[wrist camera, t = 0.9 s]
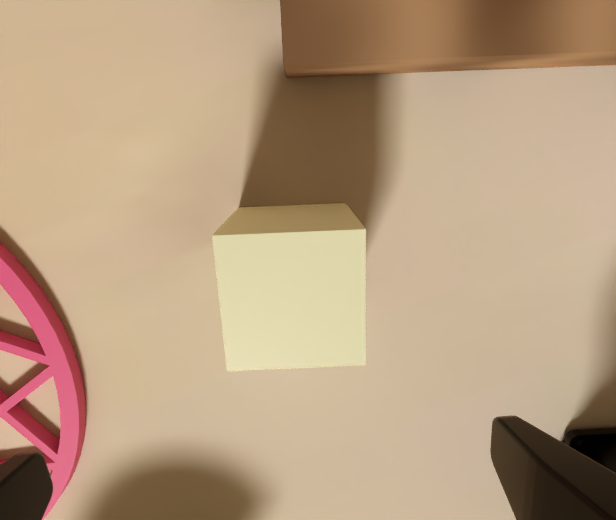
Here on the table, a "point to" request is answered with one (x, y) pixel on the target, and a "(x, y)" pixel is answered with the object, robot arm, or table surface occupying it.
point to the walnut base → (444, 35)
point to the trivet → (44, 376)
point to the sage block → (292, 287)
